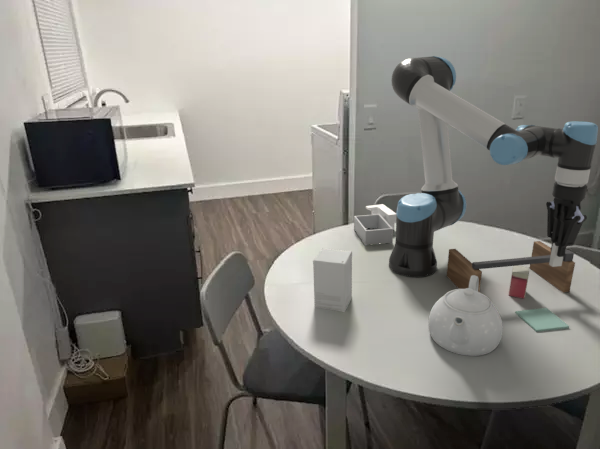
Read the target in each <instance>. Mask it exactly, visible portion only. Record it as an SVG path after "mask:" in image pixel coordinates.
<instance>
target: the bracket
mask: <svg viewBox="0 0 600 449" xmlns="http://www.w3.org/2000/svg"><path fill="white" fill-rule="evenodd" d="M365 209H366V210H367V211H370V212H371V214H370V215H374V214H380V215H381V216H382V217H383V218H384V220H385V221H386V222H387V223H388V224H389V225H390V226H391V227H392V228H393V230H394V231H395V224H396V219H397V215H396V212H395V211H393V209H391V208H390V207H388V206H386V205H385V204H383V203H381V204H380V203H379V204H373V205H366V206H365Z"/></svg>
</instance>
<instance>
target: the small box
mask: <svg viewBox="0 0 600 449" xmlns="http://www.w3.org/2000/svg"><path fill="white" fill-rule="evenodd" d="M529 276H530V266H525V265H517V266H512V271H511V277H510V283H509V289H508V290H509V291H508V296H509V297H514V298H519V299H525V298H526V293H527V287H528V282H529Z"/></svg>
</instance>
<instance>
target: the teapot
mask: <svg viewBox="0 0 600 449" xmlns="http://www.w3.org/2000/svg"><path fill="white" fill-rule="evenodd" d="M478 286H479V278H478V276H475V275H472V276H471V278H470V282H469V288H466V289H459V288H456V289H452V290H449V291H447V292H446V293H445V294H444V295H443V296H441V297H440V298H439V299H438V300H437V301H435V303H434V304H433V306H432V308H431V310H430V312H429V317H428V325H427V326H428V332H429V335H430V337H431V338H432V340H433V341H434V342H435V343H436V344H437V345H438V346H439V347H441V348H442V349H445V350H446V351H448V352H451V353H454V354H457V355H459V356H460V355H462V356H468V357H472V356H473V357H477V356H478V357H480V356H485V355H487V354H490V353H491V352H493V351H494V350H496V348H497V347H498V346H499V344H500V342H501V340H502V336H503V329H504V328H503V321H502V317H501V315H500V314H501V313H500V312H499V310H498V309H497V307H496V306H495V305H494V303H493V302H492V299H490V298H489V297H488V296H487V295H485V294H484V293H482V292H481V291H480V292H478Z"/></svg>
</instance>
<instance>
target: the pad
mask: <svg viewBox="0 0 600 449" xmlns="http://www.w3.org/2000/svg"><path fill="white" fill-rule="evenodd" d="M514 313H515V315H517V316H518V317H520V319H521V320H522V321H523V322H524V323H526V324H527V325H528V326H529V327H530V328H531V329H532V330H534V332H546V331H554V330H555V331H556V330H565V329H569V328H570V325H569V324H567V322H565V321H563V320H562V319H561V318H560V317H558V315H556V314H555V313H554V312H553V311H551V310H550V309H549V308H547V307H543V308H533V309H524V310H516V311H514Z"/></svg>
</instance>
